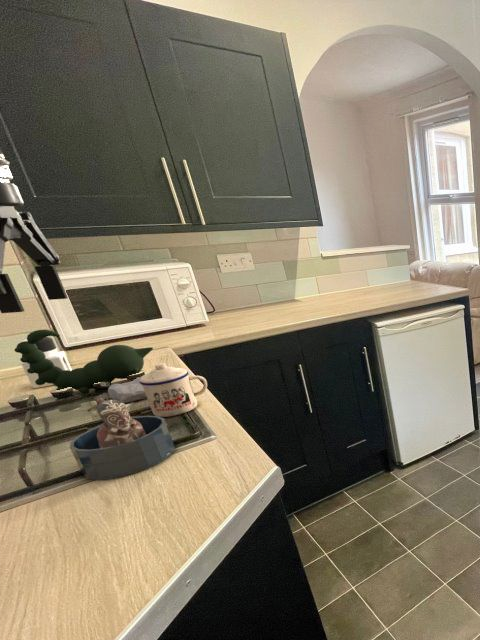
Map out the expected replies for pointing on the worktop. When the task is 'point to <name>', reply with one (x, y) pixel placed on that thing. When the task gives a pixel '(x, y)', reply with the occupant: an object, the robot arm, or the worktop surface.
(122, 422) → the figurine
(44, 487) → the worktop surface
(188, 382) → the teacup with lid
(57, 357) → the container
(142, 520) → the worktop surface
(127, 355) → the toy figurine
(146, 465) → the blue oval tub
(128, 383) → the stone block
